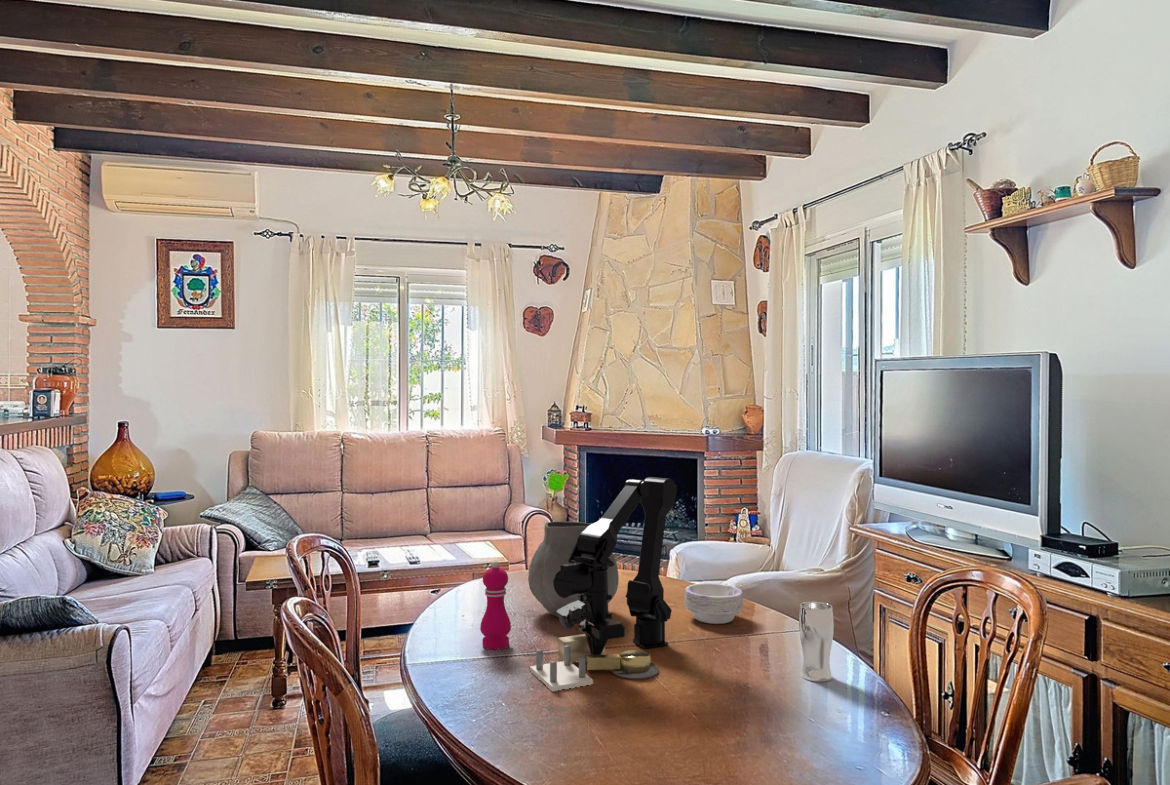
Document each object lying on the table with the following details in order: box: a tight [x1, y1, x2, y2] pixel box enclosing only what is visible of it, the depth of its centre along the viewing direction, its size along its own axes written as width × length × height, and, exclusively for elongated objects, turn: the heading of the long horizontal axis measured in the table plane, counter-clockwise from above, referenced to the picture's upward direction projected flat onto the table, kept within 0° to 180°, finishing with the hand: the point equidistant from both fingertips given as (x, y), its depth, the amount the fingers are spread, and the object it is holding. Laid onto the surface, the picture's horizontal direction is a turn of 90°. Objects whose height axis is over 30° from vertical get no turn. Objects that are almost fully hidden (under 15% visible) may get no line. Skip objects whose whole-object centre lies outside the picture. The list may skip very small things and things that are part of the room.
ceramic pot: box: [527, 520, 620, 618], centre depth 214 cm, size 24×24×25 cm
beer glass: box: [798, 601, 835, 683], centre depth 166 cm, size 7×7×15 cm
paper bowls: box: [684, 582, 744, 625], centre depth 209 cm, size 15×15×8 cm
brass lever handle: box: [586, 649, 651, 672], centre depth 170 cm, size 14×7×3 cm, turn 94°
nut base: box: [611, 662, 659, 680], centre depth 170 cm, size 10×10×1 cm
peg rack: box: [529, 645, 594, 692], centre depth 167 cm, size 13×9×5 cm
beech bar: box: [557, 633, 606, 663], centre depth 179 cm, size 10×4×5 cm, turn 114°
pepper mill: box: [479, 560, 512, 651], centre depth 188 cm, size 7×7×20 cm
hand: (595, 659), depth 175 cm, fingers closed
